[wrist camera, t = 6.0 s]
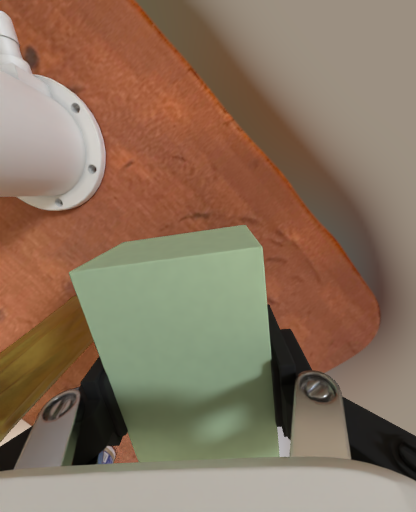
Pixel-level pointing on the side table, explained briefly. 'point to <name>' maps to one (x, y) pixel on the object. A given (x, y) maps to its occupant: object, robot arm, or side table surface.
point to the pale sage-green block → (185, 343)
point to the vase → (40, 361)
